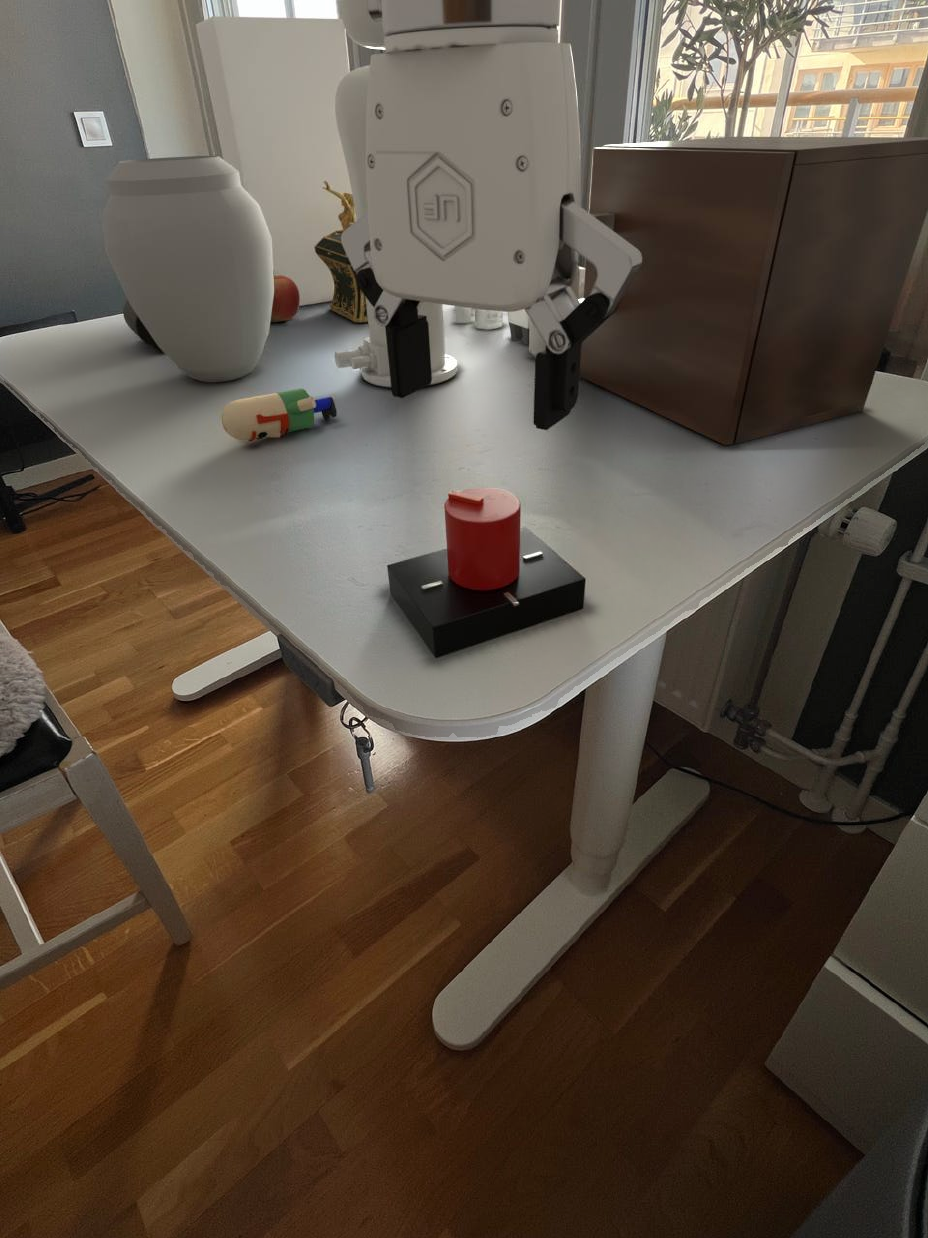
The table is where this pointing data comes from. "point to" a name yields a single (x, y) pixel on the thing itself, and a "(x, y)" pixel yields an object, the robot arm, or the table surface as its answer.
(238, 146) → the storage box
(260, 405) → the toy figurine
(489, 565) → the red rotary knob
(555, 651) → the table surface
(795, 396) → the cabinet
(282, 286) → the apple
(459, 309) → the handheld gaming console
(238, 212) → the vase
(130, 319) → the end cap
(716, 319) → the cabinet door
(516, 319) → the giant panda
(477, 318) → the pill bottle
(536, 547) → the valve panel
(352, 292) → the decorative box
